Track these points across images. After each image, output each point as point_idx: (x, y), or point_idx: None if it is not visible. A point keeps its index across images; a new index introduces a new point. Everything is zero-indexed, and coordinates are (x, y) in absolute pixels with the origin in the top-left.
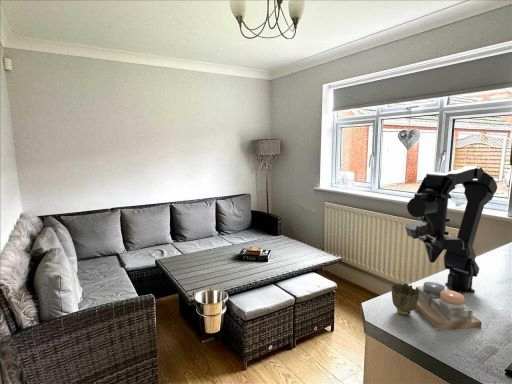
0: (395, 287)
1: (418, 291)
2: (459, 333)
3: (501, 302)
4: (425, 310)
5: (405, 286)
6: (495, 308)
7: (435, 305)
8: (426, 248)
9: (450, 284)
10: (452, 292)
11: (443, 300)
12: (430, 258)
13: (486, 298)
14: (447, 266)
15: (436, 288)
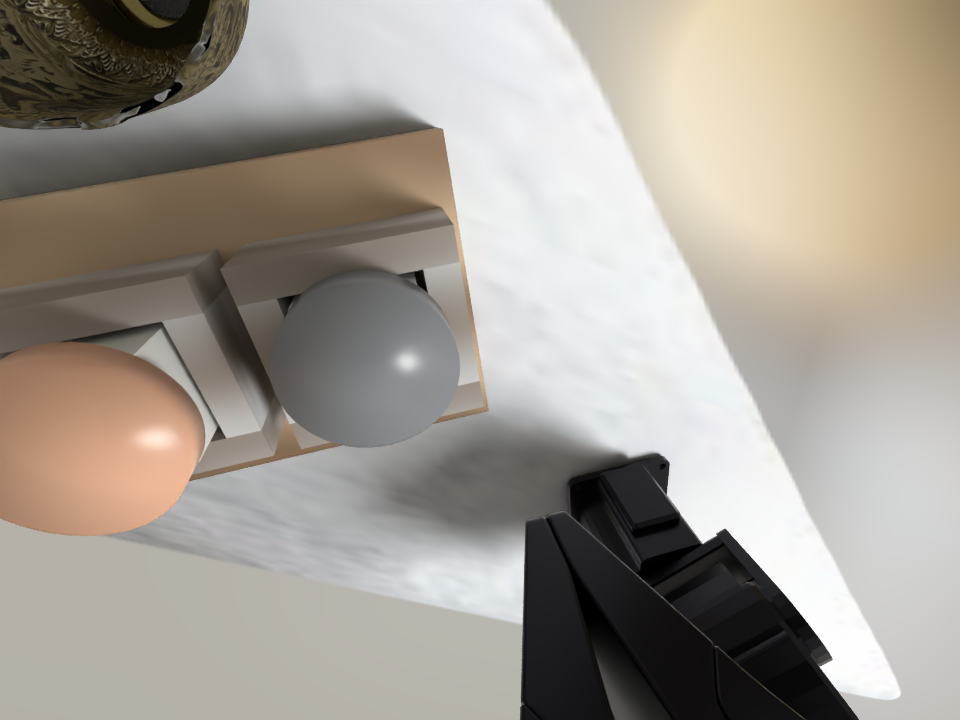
0: None
1: (17, 112)
2: None
3: (479, 600)
4: (152, 188)
5: None
6: (417, 570)
7: (129, 279)
8: (758, 709)
9: (622, 481)
10: (138, 477)
11: (11, 354)
12: (544, 569)
13: (513, 566)
14: (729, 551)
15: (302, 376)
